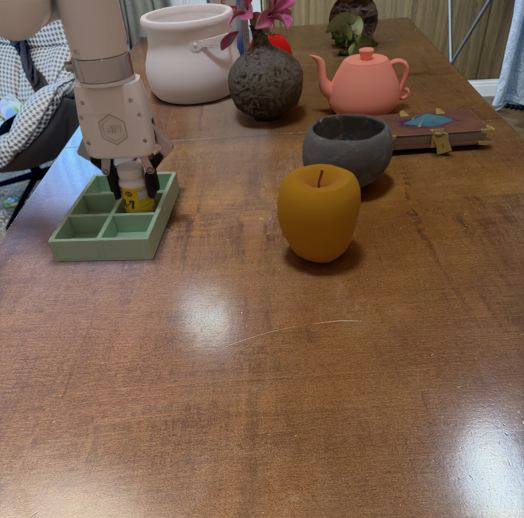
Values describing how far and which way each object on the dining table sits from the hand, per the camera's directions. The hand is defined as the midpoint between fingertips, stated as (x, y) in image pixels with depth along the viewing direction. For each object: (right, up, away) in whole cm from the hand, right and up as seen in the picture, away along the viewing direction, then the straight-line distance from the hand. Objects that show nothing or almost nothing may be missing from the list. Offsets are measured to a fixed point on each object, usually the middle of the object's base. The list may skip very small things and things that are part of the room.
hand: (136, 194), depth 80 cm
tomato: (+23, +51, +59) cm, 81 cm away
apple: (+28, -11, -7) cm, 31 cm away
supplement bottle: (0, -3, +3) cm, 4 cm away
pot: (+3, +43, +52) cm, 67 cm away
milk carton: (+11, +63, +73) cm, 97 cm away
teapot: (+42, +29, +34) cm, 61 cm away
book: (+50, +17, +20) cm, 57 cm away
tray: (-3, -4, +4) cm, 6 cm away
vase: (+21, +28, +35) cm, 49 cm away
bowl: (+34, +4, +8) cm, 36 cm away
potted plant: (+47, +64, +70) cm, 105 cm away
